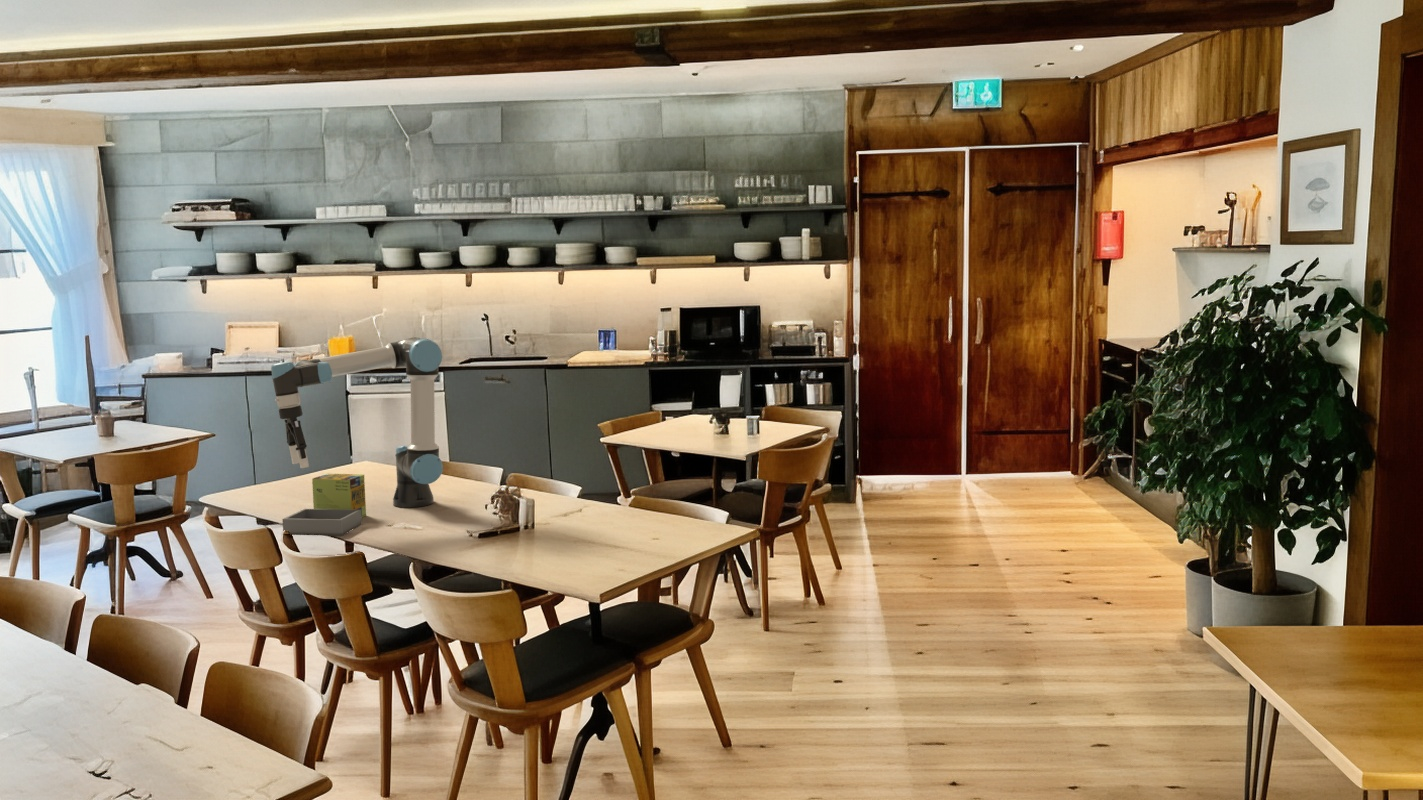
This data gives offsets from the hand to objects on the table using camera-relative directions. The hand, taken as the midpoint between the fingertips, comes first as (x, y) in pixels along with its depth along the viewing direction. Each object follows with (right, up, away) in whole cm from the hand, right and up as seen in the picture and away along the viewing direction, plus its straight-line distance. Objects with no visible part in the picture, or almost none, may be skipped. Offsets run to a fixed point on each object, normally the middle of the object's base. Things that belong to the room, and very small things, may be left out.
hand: (300, 465), depth 379 cm
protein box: (+9, -20, +16) cm, 27 cm away
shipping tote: (+9, -22, -2) cm, 24 cm away
